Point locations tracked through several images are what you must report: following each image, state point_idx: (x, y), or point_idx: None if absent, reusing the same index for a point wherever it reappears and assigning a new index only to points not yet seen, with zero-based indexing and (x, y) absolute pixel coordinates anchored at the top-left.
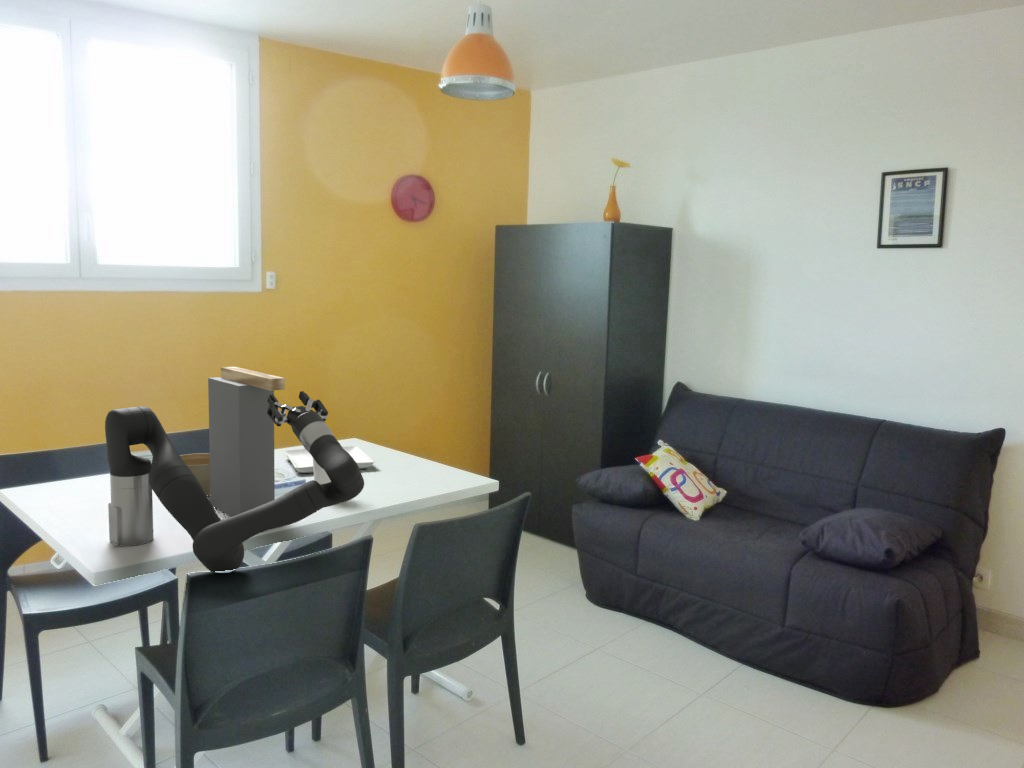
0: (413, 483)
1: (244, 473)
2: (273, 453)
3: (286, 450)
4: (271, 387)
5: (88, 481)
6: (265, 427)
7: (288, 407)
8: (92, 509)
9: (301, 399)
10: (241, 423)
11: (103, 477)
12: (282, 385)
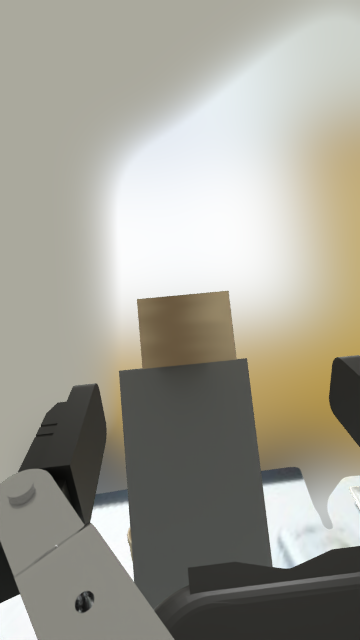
0: None
1: None
2: None
3: (354, 486)
4: (146, 349)
5: (100, 516)
6: (232, 524)
7: (74, 624)
8: (7, 610)
9: (353, 425)
10: (138, 508)
11: (121, 510)
12: (217, 335)
